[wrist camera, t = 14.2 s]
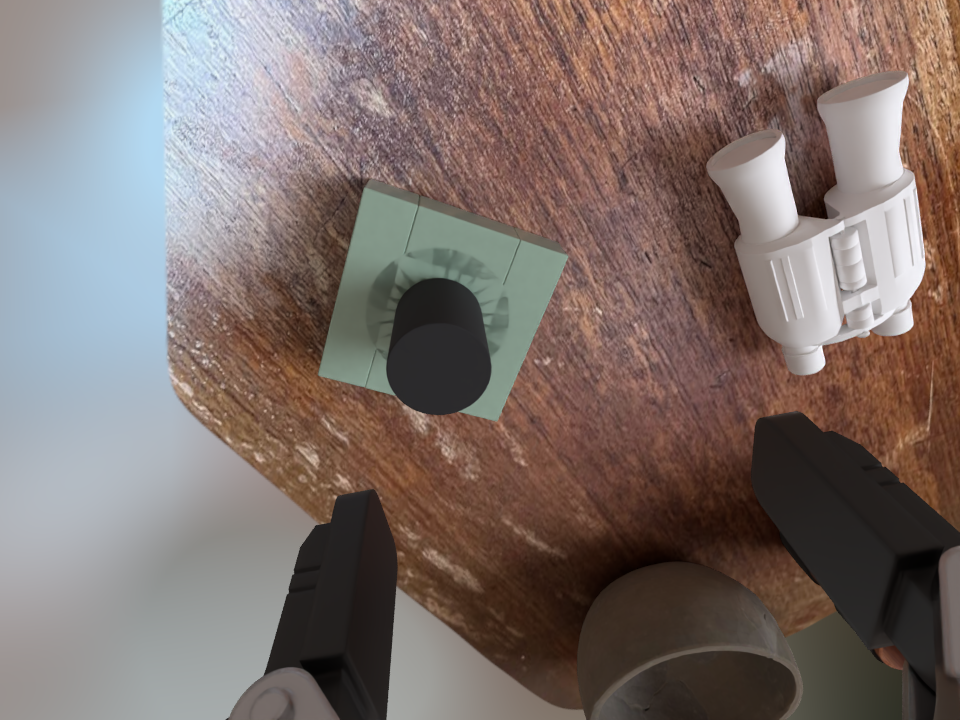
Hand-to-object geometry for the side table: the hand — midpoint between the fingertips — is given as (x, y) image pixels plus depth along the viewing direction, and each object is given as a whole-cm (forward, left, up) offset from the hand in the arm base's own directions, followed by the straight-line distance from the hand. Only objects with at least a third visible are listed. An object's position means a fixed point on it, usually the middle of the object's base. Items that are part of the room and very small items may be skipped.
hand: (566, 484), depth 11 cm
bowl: (+27, -28, -24) cm, 46 cm away
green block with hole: (-1, -6, -24) cm, 25 cm away
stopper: (-1, -6, -24) cm, 25 cm away
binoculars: (+20, +6, -24) cm, 32 cm away
